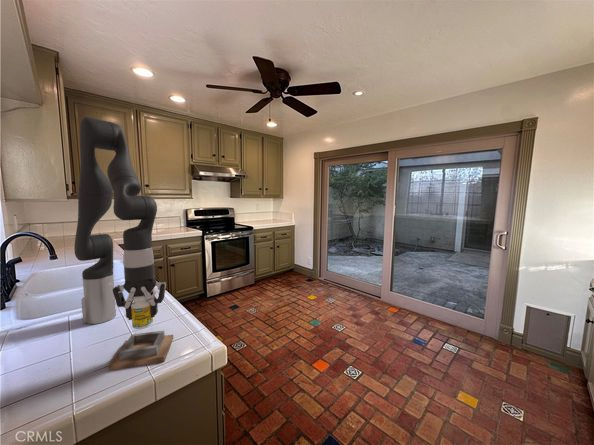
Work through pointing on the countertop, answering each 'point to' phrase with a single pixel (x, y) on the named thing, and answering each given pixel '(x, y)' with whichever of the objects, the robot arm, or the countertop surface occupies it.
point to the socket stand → (142, 350)
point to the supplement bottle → (141, 312)
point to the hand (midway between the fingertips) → (142, 317)
